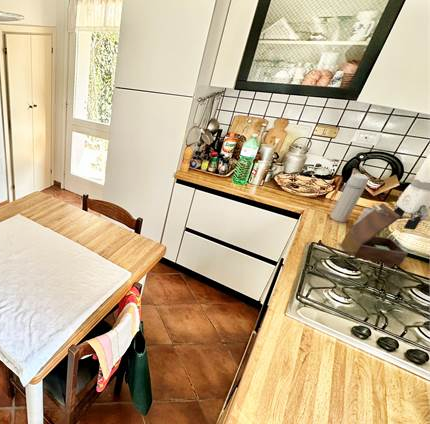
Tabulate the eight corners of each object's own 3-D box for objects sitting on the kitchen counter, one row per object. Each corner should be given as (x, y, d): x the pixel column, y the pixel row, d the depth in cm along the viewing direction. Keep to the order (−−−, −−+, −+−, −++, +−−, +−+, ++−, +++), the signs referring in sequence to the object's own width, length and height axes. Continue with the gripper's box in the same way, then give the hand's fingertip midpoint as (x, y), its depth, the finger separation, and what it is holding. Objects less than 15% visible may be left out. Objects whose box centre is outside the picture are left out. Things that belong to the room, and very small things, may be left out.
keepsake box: (382, 252, 139) (391, 238, 135) (397, 269, 129) (408, 254, 125) (340, 245, 144) (348, 231, 140) (351, 260, 134) (360, 245, 130)
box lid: (384, 203, 131) (373, 197, 131) (401, 217, 120) (388, 210, 121) (349, 230, 140) (339, 225, 140) (362, 245, 130) (351, 239, 130)
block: (369, 252, 137) (374, 244, 135) (382, 255, 136) (387, 247, 134) (374, 258, 134) (379, 250, 132) (387, 260, 132) (392, 252, 130)
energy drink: (365, 229, 157) (377, 209, 151) (367, 234, 153) (380, 213, 147) (351, 226, 159) (363, 206, 154) (353, 231, 155) (365, 210, 150)
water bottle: (346, 219, 166) (370, 176, 154) (345, 224, 161) (370, 180, 149) (325, 213, 172) (347, 171, 160) (324, 218, 167) (345, 175, 155)
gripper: (400, 176, 127) (379, 212, 135) (427, 192, 112) (402, 231, 120) (424, 178, 124) (401, 215, 132) (454, 195, 110) (427, 235, 118)
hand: (402, 223), depth 126 cm, fingers open, 9 cm apart
